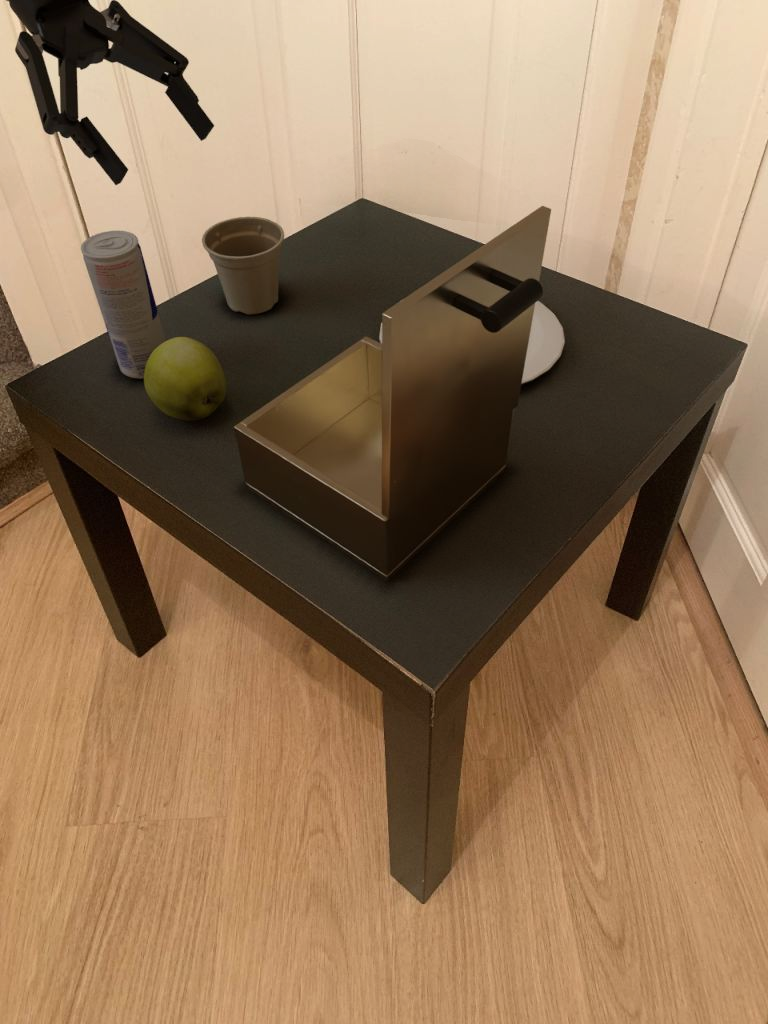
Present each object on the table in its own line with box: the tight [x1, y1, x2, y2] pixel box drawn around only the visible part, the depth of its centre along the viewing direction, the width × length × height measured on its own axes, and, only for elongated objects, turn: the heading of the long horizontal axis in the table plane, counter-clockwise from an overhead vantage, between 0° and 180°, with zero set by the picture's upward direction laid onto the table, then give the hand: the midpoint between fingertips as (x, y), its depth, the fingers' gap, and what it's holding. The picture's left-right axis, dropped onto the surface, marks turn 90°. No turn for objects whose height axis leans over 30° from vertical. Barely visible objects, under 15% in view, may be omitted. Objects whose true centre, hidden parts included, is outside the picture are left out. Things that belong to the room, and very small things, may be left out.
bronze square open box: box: [233, 336, 514, 582], centre depth 73 cm, size 18×18×8 cm
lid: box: [381, 205, 552, 519], centre depth 58 cm, size 18×18×5 cm
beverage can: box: [80, 230, 167, 380], centre depth 83 cm, size 6×6×15 cm
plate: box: [378, 299, 566, 386], centre depth 90 cm, size 21×21×2 cm
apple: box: [143, 336, 227, 421], centre depth 81 cm, size 8×9×8 cm
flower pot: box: [201, 216, 285, 315], centre depth 94 cm, size 9×9×9 cm
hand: (167, 155), depth 90 cm, fingers open, 13 cm apart
